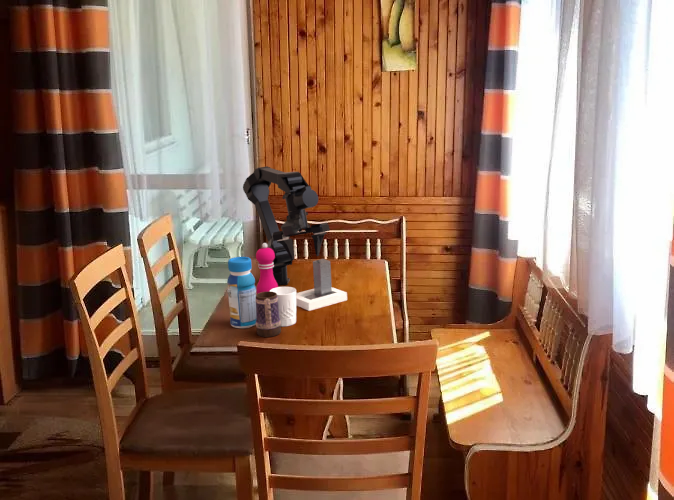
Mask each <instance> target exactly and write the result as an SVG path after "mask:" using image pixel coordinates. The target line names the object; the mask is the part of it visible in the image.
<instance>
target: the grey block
mask: <svg viewBox="0 0 674 500" xmlns="http://www.w3.org/2000/svg"><path fill="white" fill-rule="evenodd" d="M331 263H332V262H331V260H328V259H325V258H321V259H316V260H313V261H312V269H313V271H312V272H313V273H312V274H313V289H314V294H313V295H309V296H305V297H304V298H307V299H309V300H312V299H315V298H319V297H323V296H326V295H330V294H332V267H331Z"/></svg>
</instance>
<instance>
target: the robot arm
mask: <svg viewBox="0 0 674 500" xmlns="http://www.w3.org/2000/svg"><path fill="white" fill-rule="evenodd" d="M271 184H275V185H277V188H278V189H279V190H280V191H283V192H284V194H283V195H282V200H285V203H286V209H287V215H286V217H285V218H286V221H285V222H284V223H283V224H282V225H281V226H280V229H281V230H280V229H279V226H278V223H277V221H276V218H275V215H274V213H273V211H272V210H273V209H272V206H271V204H270V201H269V196H270V186H271ZM242 190H243V192H244V194H245V197H246V198H247V200H248V201H249V202H251V203H252V204H253V205H254V207H255V209H256V212H257V215H258V218H259V220H260V223H261V226H262V228H263V231H264V234H265V237H266V239H267V242H268V243H267V245H268V246H267V248H271V249H272V250H273V251H274V253H275V258H274V260H273V262H274V267H273V276H274V278H275V280H276V282H277V284H278V286H286V285H289V282H290V280H291V279H290V277H288V268H287V267H288V266H292V265H293V261H295V252H294V251H295V250H294V249H295V248H294V243H293V239H292V238H290V237H295V236H301V235H306V234H311V233H312V234H311V235H310V236H311V238H312V240H313V245H314V250H315V251H314V252H315V256H316V257H318V256H320V252H321V248H322V243H323V239H324V238H325V235H327V234H328V233H327V232H329V231H330V230H331V228H330V225H329V224H328V223H327V222H322V223H318V224H312V225H310V224H308V223H309V222H308V219H307V218H308V217H307V216H308V215H309V213H308V211H307V212H306V209H309V208H314V207H316V206H317V205H318V203H319V196H318V194H317V192H316V191H315V190H314V189H312V187H311V185H309V184H308V182H307V181H306V179H305V178H304V176H303V175H302V173H301V172H300V171H281V170H278V169H275V168H272V167H270V166H259V167H256V168H255V169H254V171H253V172H252V173H251V174H250V175H249V176H248V177H246V178H245V180H244V182H243V185H242Z"/></svg>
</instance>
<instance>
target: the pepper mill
mask: <svg viewBox="0 0 674 500" xmlns="http://www.w3.org/2000/svg"><path fill="white" fill-rule="evenodd" d="M267 246H268V243H267V242H263V243H262V244H261V248H259V249H257V251H256V253H255V259H256V261H257V262H258V263H257V265H258V266H257V267H258V268H259V274H260V275H259V279H258V282H257V285H256V294H258V293H260V292H267V291H270V290H271V289H274V288H277V287H279V285H278V284H277V282H276V280H275V278H274V276H273V267H274V262H273V260H274V258H275V253H274V251H273V250H272V249H271V248H267Z"/></svg>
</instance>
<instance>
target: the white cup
mask: <svg viewBox="0 0 674 500" xmlns="http://www.w3.org/2000/svg"><path fill="white" fill-rule="evenodd" d="M270 292H275V293H276V294H277V296H278V308H279V317H280V320H281V325H280V326H281V327H290V326H294V325H295V324H296V323H297V306H296V293H297V289H296V288H295V287H292V286H278V287H277V288H274V289H271V290H270Z"/></svg>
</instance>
